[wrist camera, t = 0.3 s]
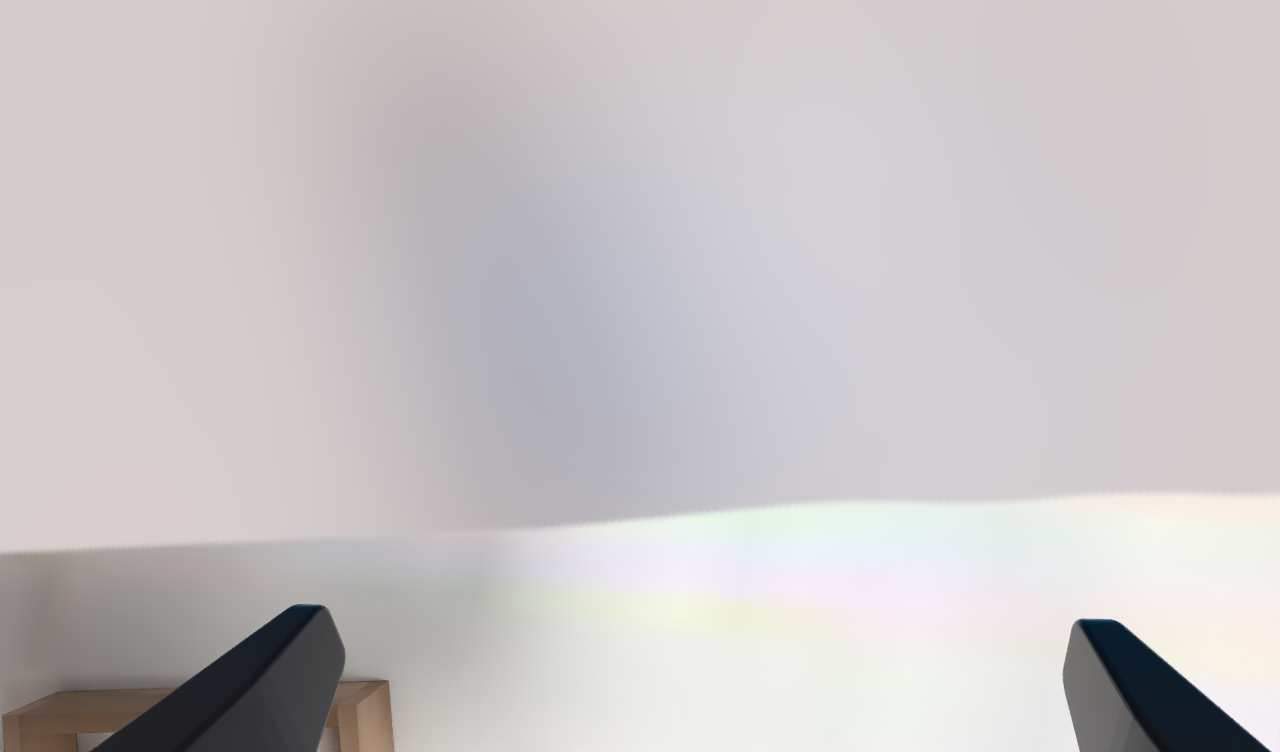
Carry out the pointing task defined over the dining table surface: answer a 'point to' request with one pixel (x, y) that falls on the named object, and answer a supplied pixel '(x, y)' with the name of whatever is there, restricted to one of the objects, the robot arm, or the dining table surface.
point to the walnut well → (49, 725)
